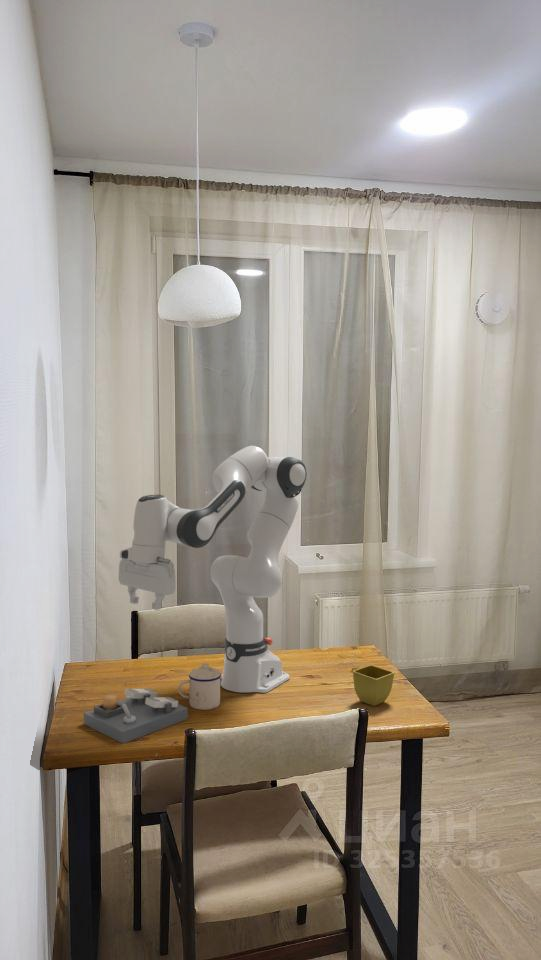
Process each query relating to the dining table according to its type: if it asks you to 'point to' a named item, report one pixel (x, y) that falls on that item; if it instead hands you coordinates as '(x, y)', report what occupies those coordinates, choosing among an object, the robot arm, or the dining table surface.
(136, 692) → the rocker
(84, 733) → the dining table surface
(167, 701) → the rocker
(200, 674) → the teacup with lid
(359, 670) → the flower pot
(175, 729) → the dining table surface
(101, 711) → the panel
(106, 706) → the button
